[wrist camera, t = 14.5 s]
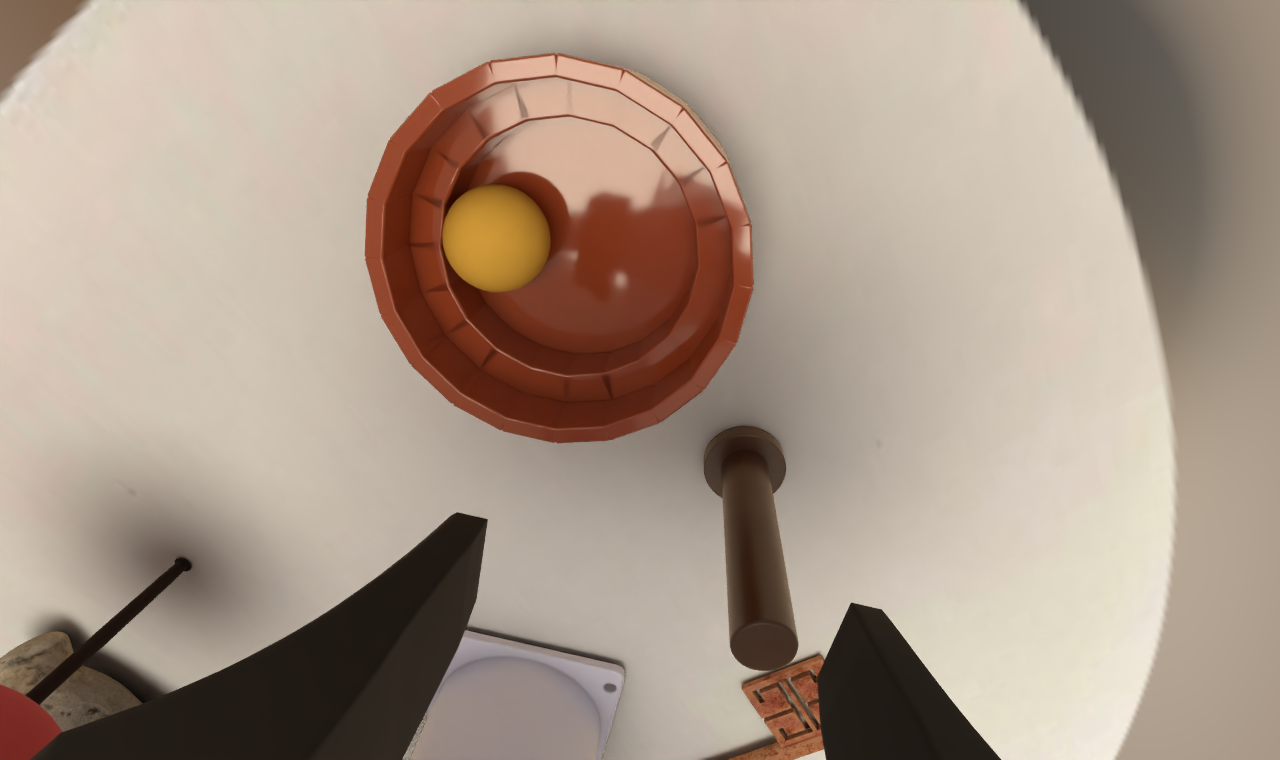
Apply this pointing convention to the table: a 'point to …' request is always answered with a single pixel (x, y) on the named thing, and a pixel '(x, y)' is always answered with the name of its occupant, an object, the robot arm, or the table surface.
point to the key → (787, 712)
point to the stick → (753, 546)
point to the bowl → (565, 248)
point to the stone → (78, 695)
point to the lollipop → (18, 726)
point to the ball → (496, 238)
